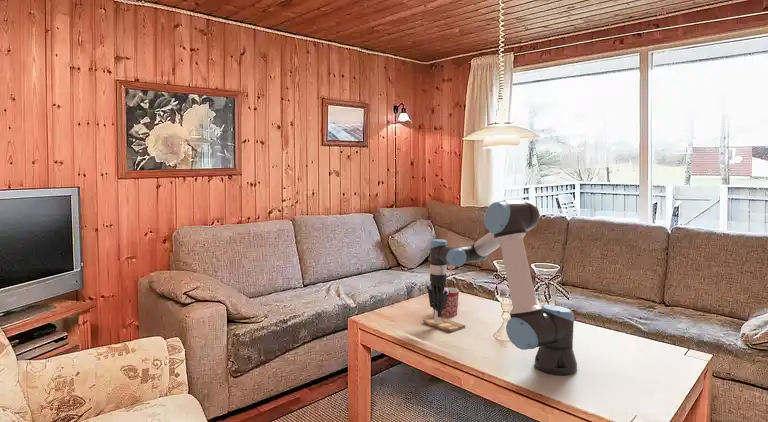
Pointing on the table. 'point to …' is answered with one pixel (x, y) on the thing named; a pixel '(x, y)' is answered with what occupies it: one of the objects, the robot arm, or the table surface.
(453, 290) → the mug
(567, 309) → the robot arm
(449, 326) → the plank
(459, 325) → the floor panel
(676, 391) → the table surface
